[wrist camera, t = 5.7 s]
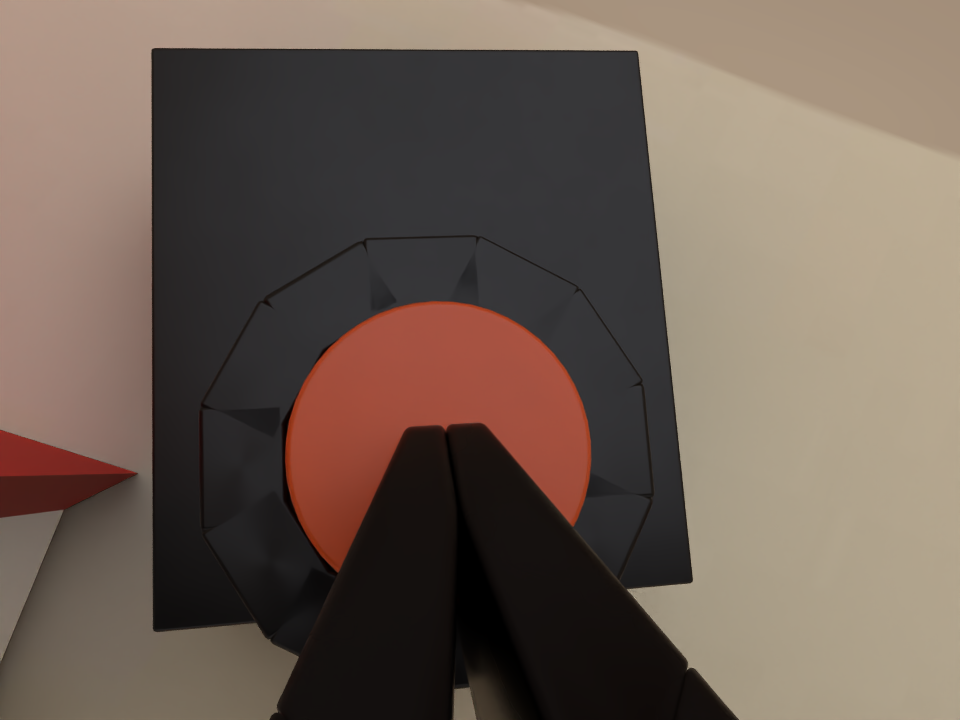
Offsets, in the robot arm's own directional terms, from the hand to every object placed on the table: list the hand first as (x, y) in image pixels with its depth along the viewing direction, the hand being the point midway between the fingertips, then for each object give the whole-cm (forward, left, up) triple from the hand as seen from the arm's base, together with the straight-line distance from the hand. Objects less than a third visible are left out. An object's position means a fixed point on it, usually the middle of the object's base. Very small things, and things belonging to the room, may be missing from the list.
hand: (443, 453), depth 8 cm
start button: (0, 0, -3) cm, 3 cm away
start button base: (+2, -2, -9) cm, 10 cm away
